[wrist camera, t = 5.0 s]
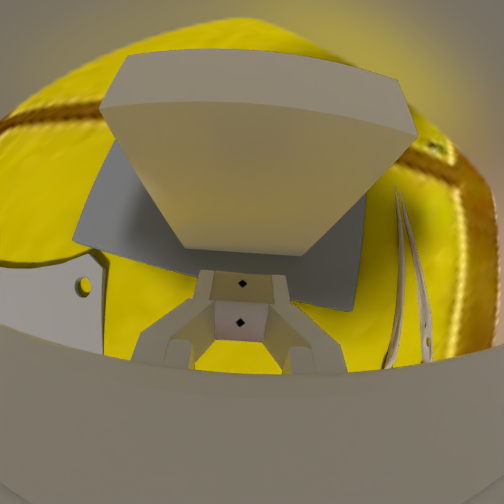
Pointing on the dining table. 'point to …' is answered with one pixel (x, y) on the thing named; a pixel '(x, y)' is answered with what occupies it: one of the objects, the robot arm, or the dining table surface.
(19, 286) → the kitchen cleaver
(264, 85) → the tile
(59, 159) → the dining table surface
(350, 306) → the mat
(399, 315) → the tweezers
